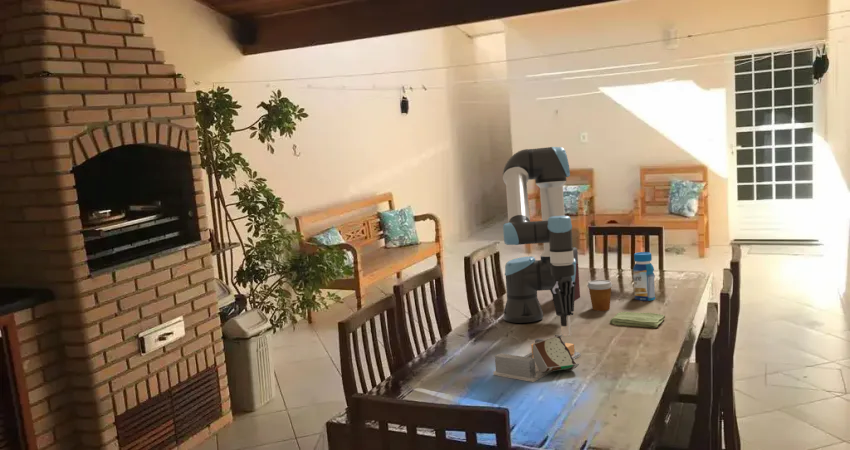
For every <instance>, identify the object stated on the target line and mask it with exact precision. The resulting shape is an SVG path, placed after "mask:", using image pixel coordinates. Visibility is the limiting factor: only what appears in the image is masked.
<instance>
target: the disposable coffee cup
mask: <svg viewBox="0 0 850 450" xmlns="http://www.w3.org/2000/svg"><path fill="white" fill-rule="evenodd" d="M587 283H588V284H587V287H588V293H589V297H590V303H591V309H592V310H593V311H597V312H603V311H604V312H605V311H609V310H610V308H611V298H612V297H611V296H612V287H613V284H612V281H611V280H607V279H595V280H590V281H588V282H587Z"/></svg>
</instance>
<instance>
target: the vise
mask: <svg viewBox="0 0 850 450" xmlns="http://www.w3.org/2000/svg"><path fill="white" fill-rule="evenodd" d="M574 352H575V353H574V354H572V355H571V356H572V358H573V360H574V361H575V360H576V359H577V358H579V357H581V355H582V354H581V353H582V352H579V351H574ZM494 363H495V364H494V365H495V370H493V373H492V374H493V376H498V377H503V378H509V379H515V380H521V381H527V382H531V383H535V382H536V381H538V380H540V379H542V378H544V377H546V376H547V375H549V374H551V373H552V372H553V371H548V372H542V371H540V370H539V368H538V367H537V365H536V363H535V358H534V356H533V354H532V352H530V353H528V354H526V355H524V356H522V355H521V356H520V355H515V354H507V353H501V352H500V353H498V354H496V355H494Z"/></svg>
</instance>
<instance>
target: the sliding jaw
mask: <svg viewBox="0 0 850 450" xmlns="http://www.w3.org/2000/svg"><path fill="white" fill-rule="evenodd" d="M543 340H544V338H543V339H542V338H541V339H540V338H535V340H534V343H537V342H540V341H543ZM534 343H531V345H530V346H531V353H532V354H533V344H534ZM563 343H564V344H565V346H566V347H567V348H568V349H569V351H570V354H571V355H572V354H574V353H575V352H576V351H575V344H574V343H569V342H565V341H563Z"/></svg>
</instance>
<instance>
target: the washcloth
mask: <svg viewBox="0 0 850 450" xmlns="http://www.w3.org/2000/svg"><path fill="white" fill-rule="evenodd" d="M665 319H666V315H664V314H662V313H655V312H634V311H622V312H618V313H617V314H615V316H613V317H612V318H611V319H610V321H609V324H612V325H613V326H614V325H615V326H621V327H622V326H624V327H638V328H639V327H641V328H653V329H656V328H658V326H659V325H661V324H662V322H663V321H664V320H665Z"/></svg>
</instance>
